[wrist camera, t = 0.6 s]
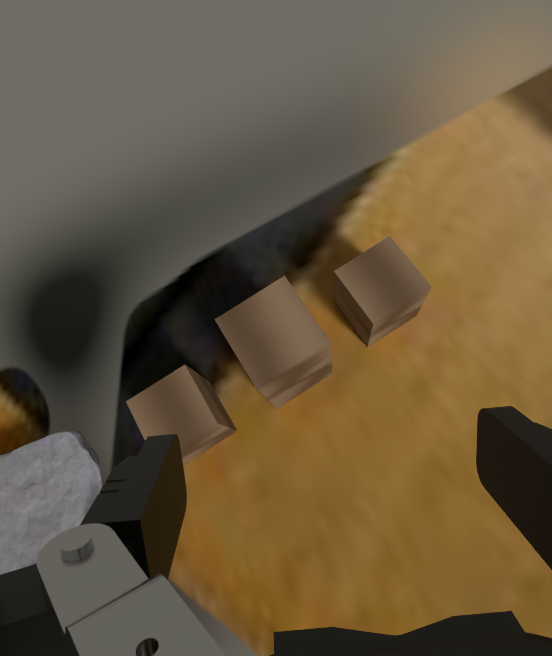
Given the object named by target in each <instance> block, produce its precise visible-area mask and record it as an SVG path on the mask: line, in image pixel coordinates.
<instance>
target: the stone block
mask: <svg viewBox="0 0 552 656" xmlns="http://www.w3.org/2000/svg"><path fill="white" fill-rule="evenodd" d="M101 488H102V479H101V472H100V467H99V458H98V455H97V454H96V453H95V452H94V451H93V449H92V448H91V447H90V446H89V445H88V443H87V442H86V441H85V439H84V437H83V436H82V435H81V433H80V432H79V431H77V430H65V431H60V432H56V433H53V434H50V435H48V436H46V437H44V438H42V439H39V440H36V441H34V442H31V443H29V444H26V445H24V446H22V447H20V448H18V449H16V450H14V451H12V452H10V453H7V454H3V455H0V575H1V574H4V573H8V572H11V571H14V570H18V569H21V568H24V567H27V566H30V565H33V564H35V563H36V561H37V557H38V554H39V553H40V551H41V549H42V548H43V547H44V546H45V545H46V544H47V543H48V542H49V541H50V540H51V539H53V538H54V537H56V536H57V535H59V534H60V533H62V532H64V531H66V530H68V529H71V528H73V527H77V526H79V525H80V524H81V522H82V520H83V519H84V517H85V515H86V514H87V512H88V510H89V509H90V507H91V505H92V503H93V502H94V500H95V498H96V497H97V495H98V494H100V490H101Z"/></svg>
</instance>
